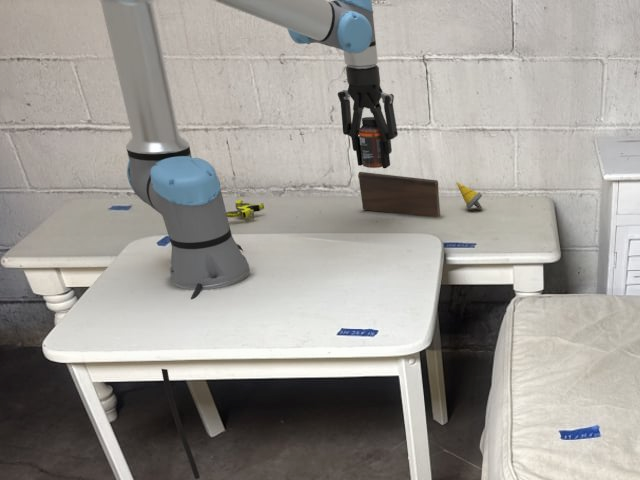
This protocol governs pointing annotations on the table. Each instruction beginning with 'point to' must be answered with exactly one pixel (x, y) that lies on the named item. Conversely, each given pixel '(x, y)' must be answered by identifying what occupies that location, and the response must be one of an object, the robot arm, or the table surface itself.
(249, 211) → the yellow black clamp
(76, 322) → the table surface
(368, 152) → the supplement bottle
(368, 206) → the wooden wall
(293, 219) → the table surface
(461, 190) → the yellow spinning top
